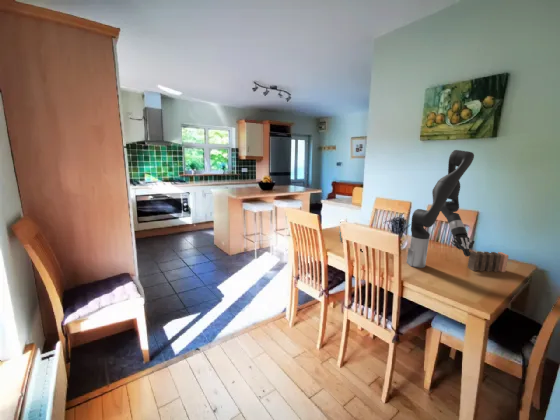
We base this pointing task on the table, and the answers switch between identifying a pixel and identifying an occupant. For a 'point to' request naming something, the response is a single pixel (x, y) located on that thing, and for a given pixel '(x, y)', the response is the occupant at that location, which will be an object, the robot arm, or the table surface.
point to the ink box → (343, 220)
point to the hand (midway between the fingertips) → (468, 255)
